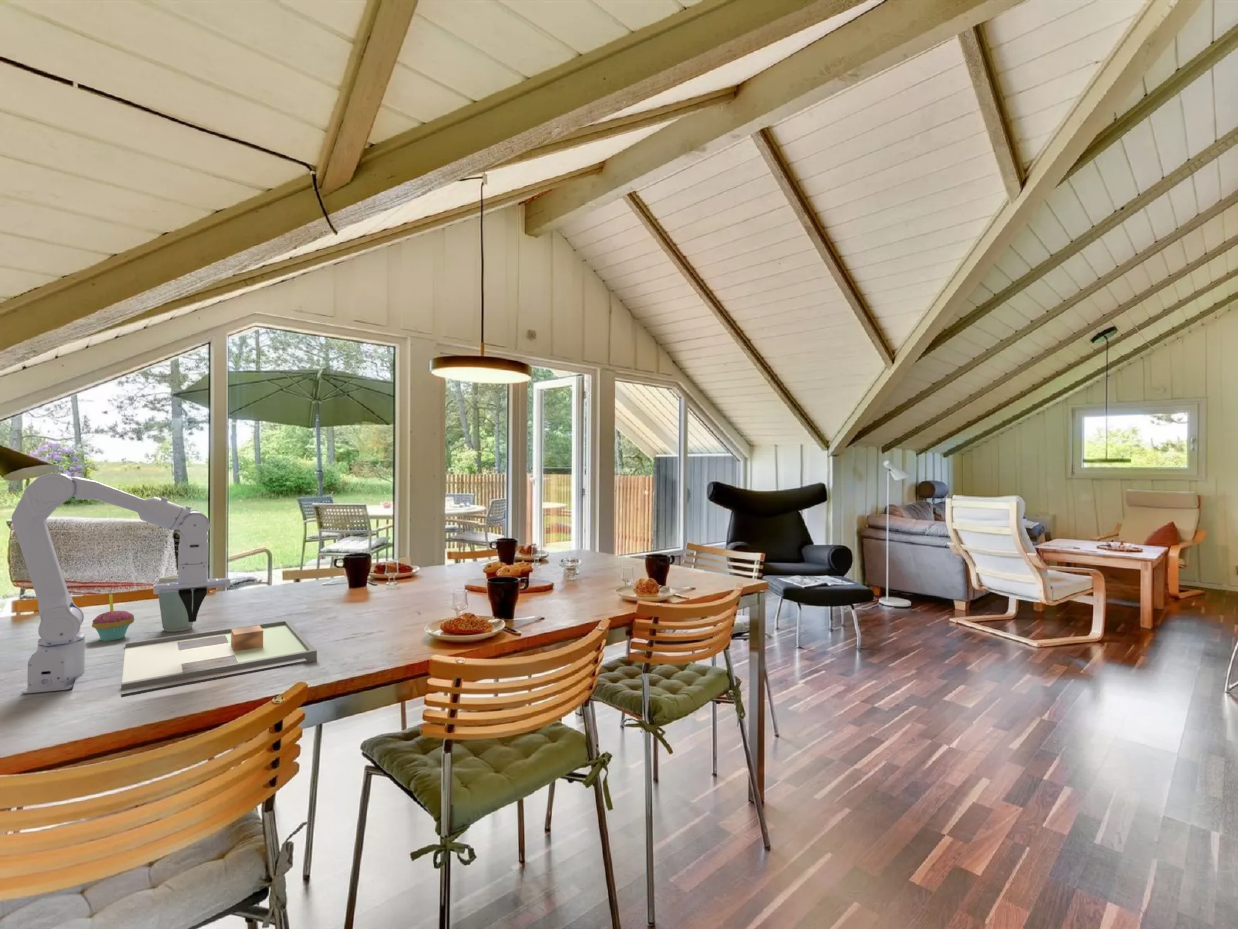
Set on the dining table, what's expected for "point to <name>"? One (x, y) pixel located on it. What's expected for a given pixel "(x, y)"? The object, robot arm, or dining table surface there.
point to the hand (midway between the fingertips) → (192, 621)
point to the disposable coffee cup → (173, 608)
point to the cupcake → (112, 623)
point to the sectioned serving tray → (209, 656)
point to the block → (246, 638)
